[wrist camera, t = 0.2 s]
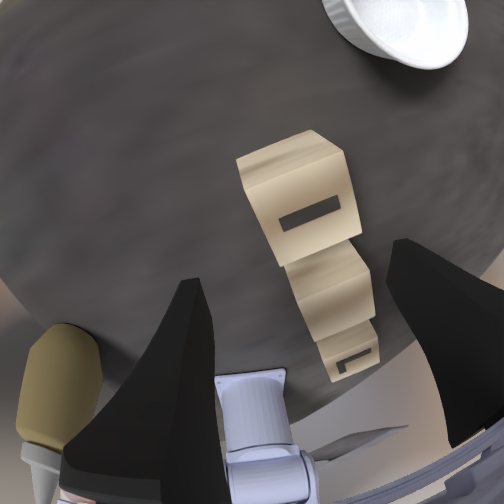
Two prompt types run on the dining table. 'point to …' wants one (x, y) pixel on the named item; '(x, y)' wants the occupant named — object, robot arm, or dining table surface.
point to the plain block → (332, 289)
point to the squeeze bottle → (56, 401)
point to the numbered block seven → (349, 350)
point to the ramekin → (403, 29)
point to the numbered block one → (300, 195)
